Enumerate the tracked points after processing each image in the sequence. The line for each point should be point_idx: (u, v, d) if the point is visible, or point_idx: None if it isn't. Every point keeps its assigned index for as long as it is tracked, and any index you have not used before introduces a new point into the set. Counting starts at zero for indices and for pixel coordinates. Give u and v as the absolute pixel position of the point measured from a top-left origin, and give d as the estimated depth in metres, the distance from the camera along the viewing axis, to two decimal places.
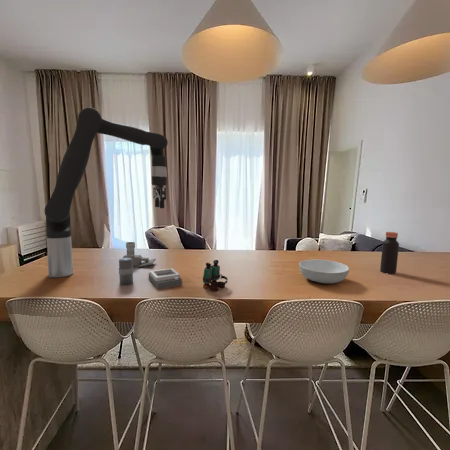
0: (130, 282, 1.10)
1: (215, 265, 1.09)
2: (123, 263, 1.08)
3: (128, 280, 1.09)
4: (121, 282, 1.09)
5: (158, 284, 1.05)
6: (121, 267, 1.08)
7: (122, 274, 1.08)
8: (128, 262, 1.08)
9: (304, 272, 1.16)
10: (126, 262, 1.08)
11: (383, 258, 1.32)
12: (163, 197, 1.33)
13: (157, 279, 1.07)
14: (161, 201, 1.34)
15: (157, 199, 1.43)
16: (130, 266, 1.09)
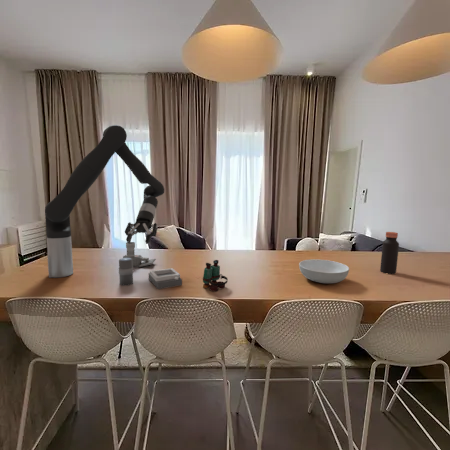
0: (130, 282, 1.10)
1: (215, 265, 1.09)
2: (123, 263, 1.08)
3: (128, 280, 1.09)
4: (121, 282, 1.09)
5: (158, 284, 1.05)
6: (121, 267, 1.08)
7: (122, 274, 1.08)
8: (128, 262, 1.08)
9: (304, 272, 1.16)
10: (126, 262, 1.08)
11: (383, 258, 1.32)
12: (155, 233, 1.24)
13: (157, 279, 1.07)
14: (150, 235, 1.22)
15: (131, 235, 1.24)
16: (130, 266, 1.09)
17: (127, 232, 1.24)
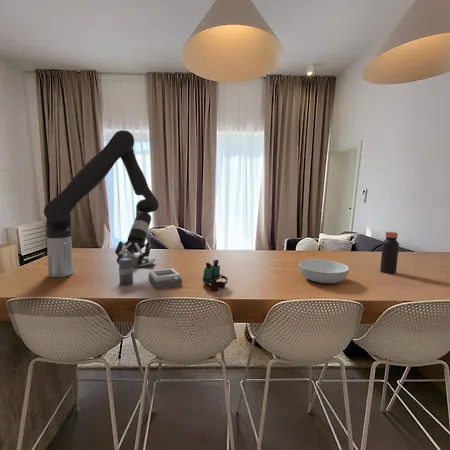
0: (130, 282, 1.10)
1: (215, 265, 1.09)
2: (123, 263, 1.08)
3: (128, 280, 1.09)
4: (121, 282, 1.09)
5: (158, 284, 1.05)
6: (121, 267, 1.08)
7: (122, 274, 1.08)
8: (128, 262, 1.08)
9: (304, 272, 1.16)
10: (126, 262, 1.08)
11: (383, 258, 1.32)
12: (147, 253, 1.16)
13: (157, 279, 1.07)
14: (142, 256, 1.14)
15: (122, 255, 1.16)
16: (130, 266, 1.09)
17: (118, 252, 1.16)
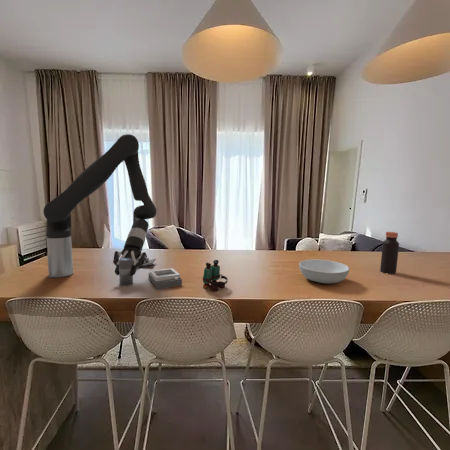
0: (130, 282, 1.10)
1: (215, 265, 1.09)
2: (123, 263, 1.08)
3: (128, 280, 1.09)
4: (121, 282, 1.09)
5: (158, 284, 1.05)
6: (121, 267, 1.08)
7: (122, 274, 1.08)
8: (128, 262, 1.08)
9: (304, 272, 1.16)
10: (126, 262, 1.08)
11: (383, 258, 1.32)
12: (141, 263, 1.12)
13: (157, 279, 1.07)
14: (135, 266, 1.10)
15: None
16: (130, 266, 1.09)
17: (116, 262, 1.12)
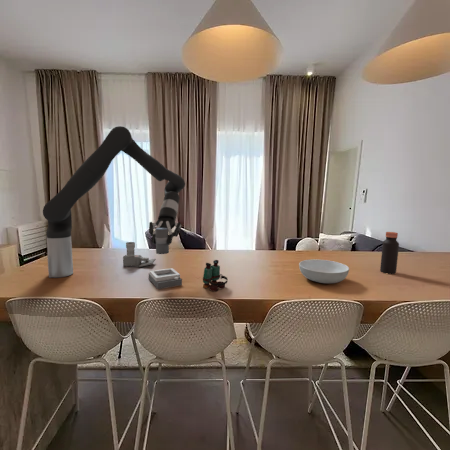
0: (166, 251, 1.11)
1: (215, 265, 1.09)
2: (160, 232, 1.09)
3: (164, 248, 1.10)
4: (158, 251, 1.10)
5: (158, 284, 1.05)
6: (158, 236, 1.09)
7: (159, 243, 1.09)
8: (164, 230, 1.09)
9: (304, 272, 1.16)
10: (163, 231, 1.09)
11: (383, 258, 1.32)
12: (176, 232, 1.13)
13: (157, 279, 1.07)
14: (171, 236, 1.11)
15: None
16: (166, 235, 1.10)
17: (152, 232, 1.13)
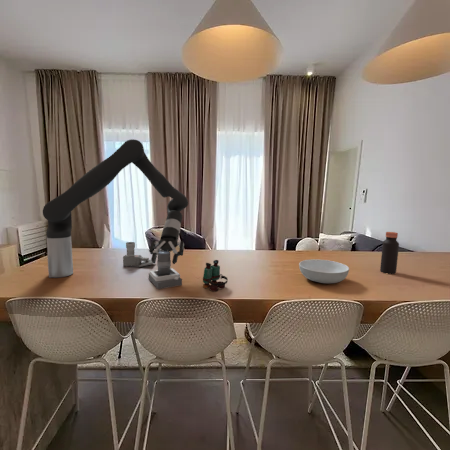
0: None
1: (215, 265, 1.09)
2: (162, 256, 1.10)
3: (166, 272, 1.11)
4: (159, 275, 1.11)
5: (158, 284, 1.05)
6: (160, 260, 1.10)
7: (161, 267, 1.10)
8: (166, 255, 1.10)
9: (304, 272, 1.16)
10: (165, 255, 1.10)
11: (383, 258, 1.32)
12: (182, 252, 1.14)
13: (157, 279, 1.07)
14: (177, 255, 1.13)
15: (156, 254, 1.14)
16: (168, 259, 1.11)
17: (152, 251, 1.14)
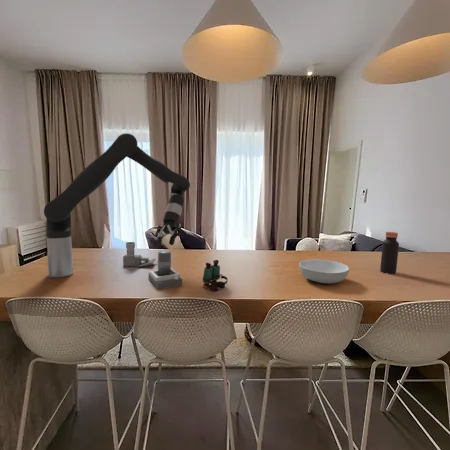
0: None
1: (215, 265, 1.09)
2: (162, 256, 1.10)
3: (166, 272, 1.11)
4: (159, 275, 1.11)
5: (158, 284, 1.05)
6: (160, 260, 1.10)
7: (161, 267, 1.11)
8: (167, 255, 1.11)
9: (304, 272, 1.16)
10: (165, 255, 1.10)
11: (383, 258, 1.32)
12: (177, 233, 1.22)
13: (157, 279, 1.07)
14: (173, 236, 1.22)
15: (160, 238, 1.28)
16: (169, 259, 1.12)
17: None
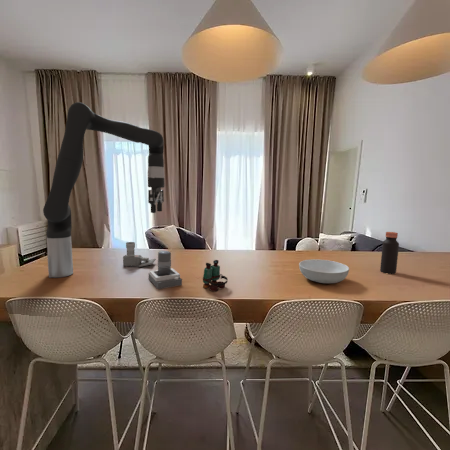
0: None
1: (215, 265, 1.09)
2: (162, 256, 1.10)
3: (166, 272, 1.11)
4: (159, 275, 1.11)
5: (158, 284, 1.05)
6: (160, 260, 1.10)
7: (161, 267, 1.10)
8: (167, 255, 1.10)
9: (304, 272, 1.16)
10: (165, 255, 1.10)
11: (383, 258, 1.32)
12: (151, 200, 1.19)
13: (157, 279, 1.07)
14: (151, 205, 1.21)
15: (159, 202, 1.30)
16: (169, 259, 1.11)
17: None
